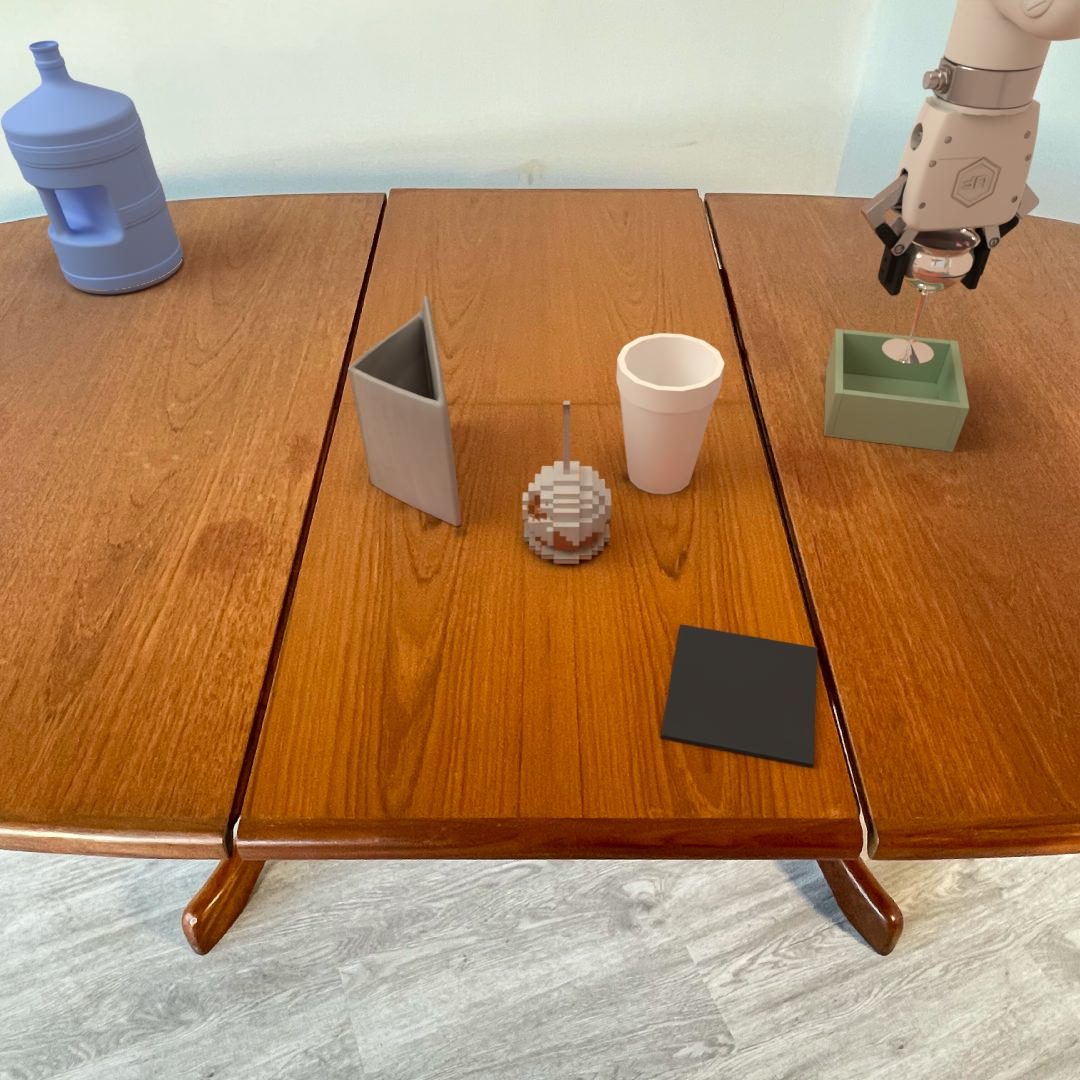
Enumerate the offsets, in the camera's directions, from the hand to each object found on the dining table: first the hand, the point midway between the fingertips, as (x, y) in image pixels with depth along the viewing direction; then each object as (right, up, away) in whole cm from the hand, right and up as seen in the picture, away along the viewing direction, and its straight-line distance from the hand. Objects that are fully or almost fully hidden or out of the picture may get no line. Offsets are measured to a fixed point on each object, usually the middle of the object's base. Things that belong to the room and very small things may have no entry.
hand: (927, 284), depth 84 cm
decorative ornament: (-34, -24, -3) cm, 42 cm away
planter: (-50, -18, +4) cm, 53 cm away
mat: (-21, -36, -16) cm, 45 cm away
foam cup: (-25, -18, +4) cm, 31 cm away
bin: (0, -10, +10) cm, 15 cm away
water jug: (-94, +13, +38) cm, 102 cm away
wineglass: (0, -5, +5) cm, 7 cm away
